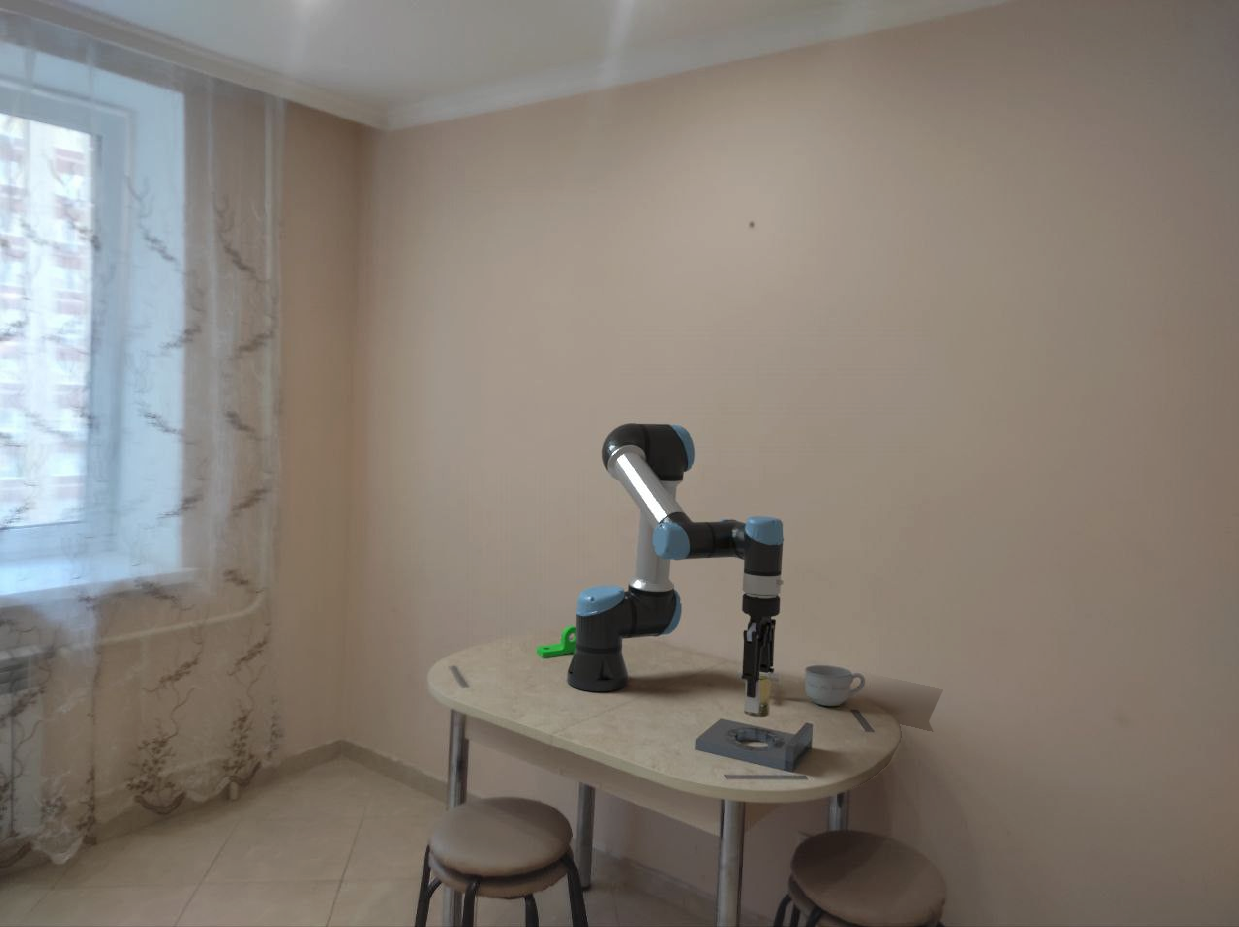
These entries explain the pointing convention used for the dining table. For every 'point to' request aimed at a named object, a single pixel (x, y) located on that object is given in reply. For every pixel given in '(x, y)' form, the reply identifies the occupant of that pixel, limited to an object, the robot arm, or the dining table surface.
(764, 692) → the gold round-ended peg
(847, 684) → the teacup
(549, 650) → the mechanical part
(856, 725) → the dining table surface
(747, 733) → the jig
